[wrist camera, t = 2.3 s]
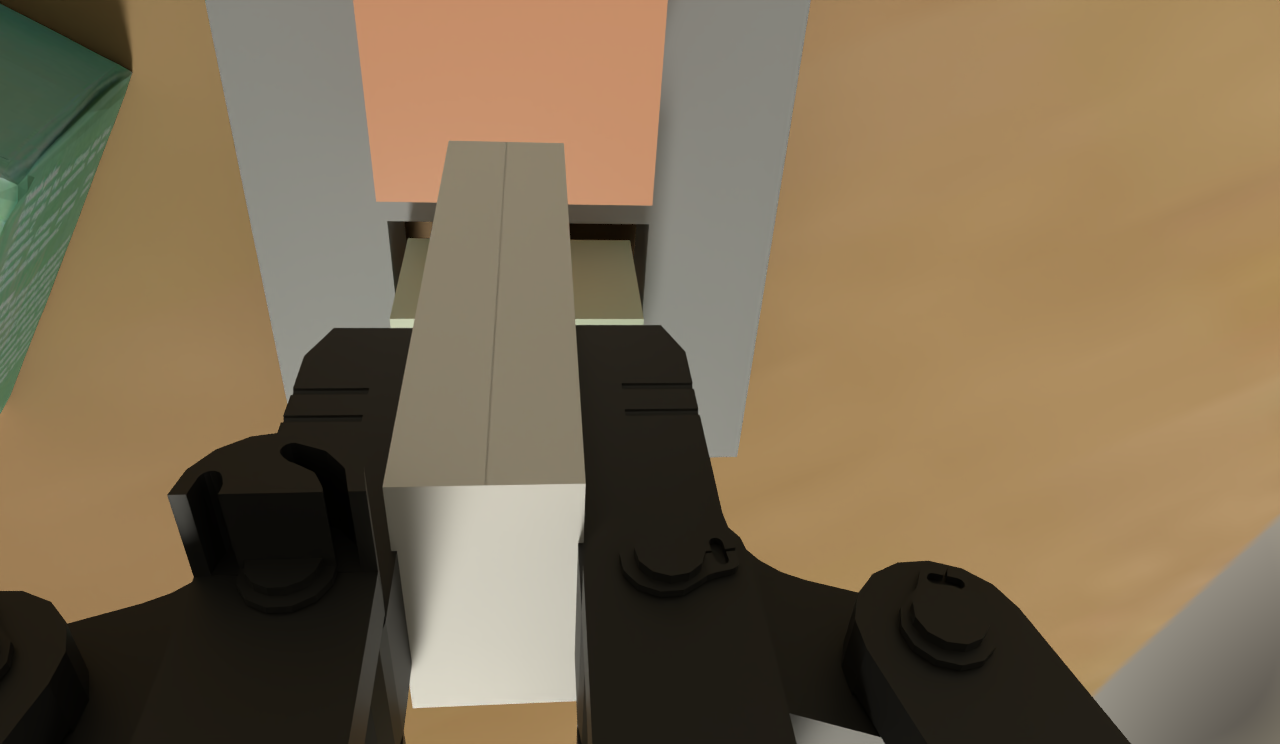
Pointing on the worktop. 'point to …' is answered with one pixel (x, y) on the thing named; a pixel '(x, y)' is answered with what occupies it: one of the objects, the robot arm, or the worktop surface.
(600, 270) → the sage button
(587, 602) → the robot arm
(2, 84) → the box
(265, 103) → the button board
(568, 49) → the terracotta button
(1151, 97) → the worktop surface
